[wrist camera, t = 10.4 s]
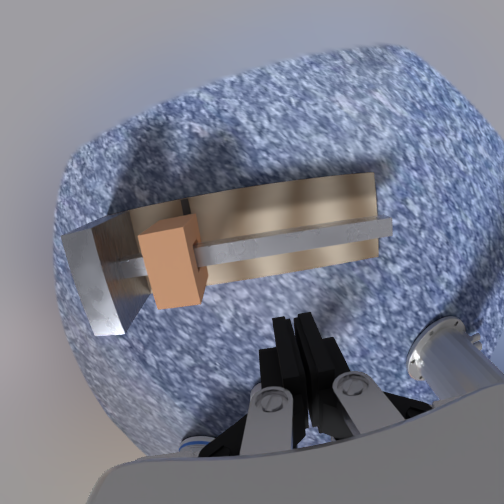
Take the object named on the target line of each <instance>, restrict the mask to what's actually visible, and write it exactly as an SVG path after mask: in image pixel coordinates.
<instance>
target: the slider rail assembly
mask: <svg viewBox="0 0 504 504" xmlns="http://www.w3.org/2000/svg"><path fill="white" fill-rule="evenodd" d="M131 210H132V209H131ZM387 236H392V218H391V217H389V216H386V215H376V216H369V217H362V218H355V219H348V220H341V221H334V222H327V223H321V224H314V225H307V226H301V227H294V228H288V229H281V230H275V231H268V232H262V233H256V234H250V235H243V236H237V237H231V238H225V239H219V240H213V241H207V242H201V243H195V244H193V250H194V254H195V259H196V263H197V267H203V266H209V265H216V264H222V263H228V262H235V261H241V260H247V259H254V258H260V257H266V256H272V255H278V254H285V253H291V252H297V251H303V250H309V249H315V248H321V247H327V246H333V245H339V244H346V243H352V242H358V241H364V240H369V239H375V238H381V237H387ZM61 239H62V243H63V246H64V250H65V253H66V257H67V260H68V264H69V267H70V270H71V273H72V276H73V279H74V282H75V285H76V288H77V291H78V294H79V297H80V299H81V302H82V305H83V307H84V310H85V312H86V315H87V317H88V320H89V322H90V325H91V327H92V330H93V332H94V334H95V336H102V335H118V334H125V333H126V332H127V330H128V328H129V327H130V325H131V323H132V322H133V320H134V319H135V317H136V315H137V314H138V312H139V311H140V309H141V308H142V306H143V304H144V303H145V301H146V300H147V298H148V297H149V295H150V294H151V293H150V290H149V287H148V283H147V280H146V276H145V275H148V274H147V271H146V267H145V263H144V260H143V256H142V253H139V250H138V246H137V242H136V238H135V234H134V230H133V226H132V221H131V217H130V212H129V211H126V212H121V213H117V214H113V215H109V216H105V217H102V218H100V219H97V220H95V221H93V222H90V223H88V224H86V225H84V226H81V227H79V228H77V229H75V230H73V231H70V232H68V233H66V234H64V235H62V236H61Z"/></svg>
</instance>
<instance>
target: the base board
mask: <svg viewBox="0 0 504 504" xmlns="http://www.w3.org/2000/svg"><path fill="white" fill-rule="evenodd" d="M127 211H129V212H130V217H131V221H132V226H133V230H134V234H135V238H136V242H137V246H138V250H139V253H142V252H141V248H140V244H139V240H138V235H139V234H141V233H142V232H143V231H145V230H146V229H148V228H149V227H150V226H152V225H153V224H155V223H156V222H158V221H159V220H163V219H168V218H174V217H179V216H184V215H189V214H195V213H196V217H197V222H198V227H199V232H200V237H201V242H207V241H213V240H219V239H225V238H231V237H237V236H243V235H250V234H256V233H262V232H268V231H275V230H281V229H288V228H294V227H301V226H307V225H314V224H321V223H327V222H334V221H341V220H348V219H355V218H362V217H369V216H376V215H377V204H376V190H375V179H374V173H373V172H367V173H355V174H345V175H335V176H326V177H317V178H308V179H300V180H292V181H285V182H278V183H271V184H264V185H257V186H251V187H244V188H238V189H232V190H226V191H220V192H215V193H209V194H204V195H198V196H193V197H188V198H183V199H178V200H173V201H168V202H163V203H158V204H154V205H149V206H145V207H140V208H136V209H132V210H127ZM123 212H126V211H123ZM119 213H121V212H119ZM115 214H117V213H115ZM110 215H113V214H110ZM107 216H109V215H107ZM104 217H105V216H104ZM373 257H378V238H375V239H369V240H364V241H358V242H352V243H346V244H339V245H333V246H327V247H321V248H315V249H309V250H303V251H297V252H291V253H285V254H278V255H272V256H266V257H260V258H254V259H247V260H241V261H235V262H228V263H222V264H216V265H209V266H207V270H208V275H209V276H208V279H207V283H206V286H207V285H214V284H221V283H227V282H234V281H240V280H247V279H253V278H259V277H265V276H272V275H278V274H284V273H290V272H296V271H301V270H307V269H313V268H319V267H324V266H330V265H336V264H341V263H347V262H352V261H357V260H363V259H368V258H373ZM145 276H146V280H147V283H148V287H149V290H150V293H153V292H152V288H151V285H150V281H149V278H148V275H145Z"/></svg>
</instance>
